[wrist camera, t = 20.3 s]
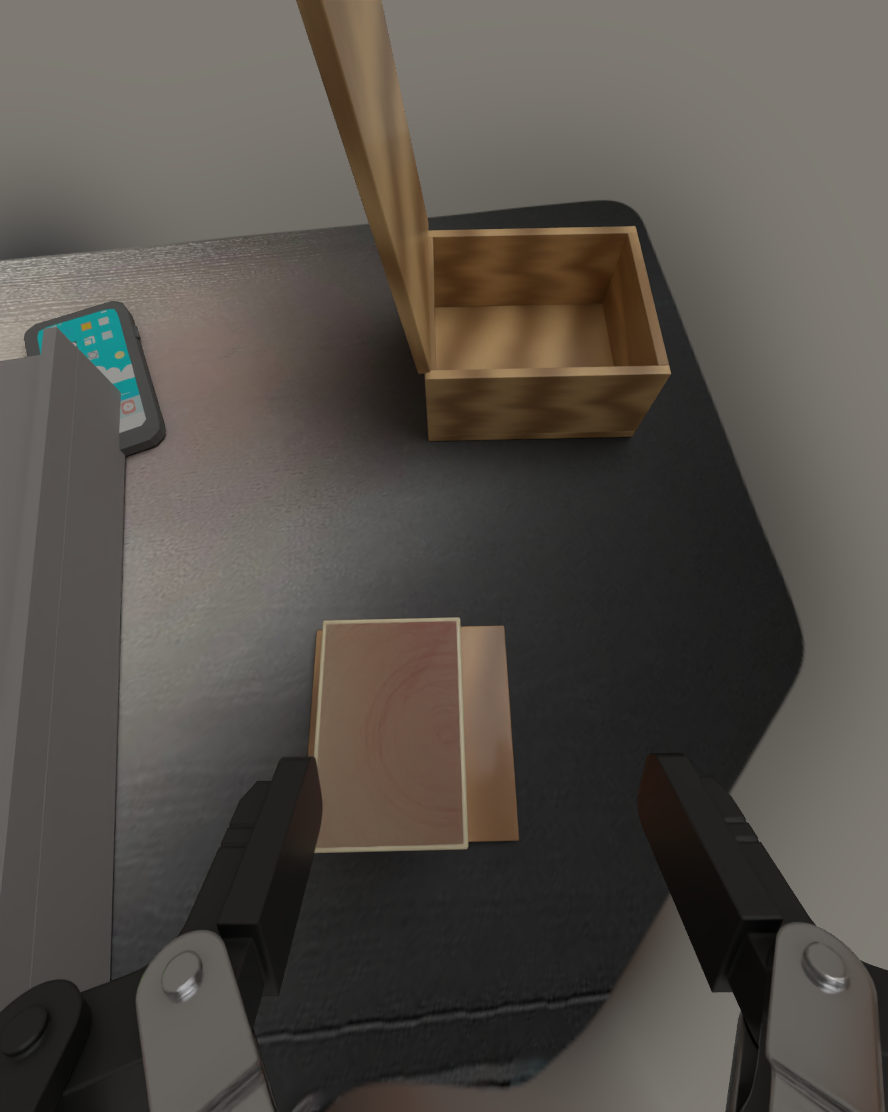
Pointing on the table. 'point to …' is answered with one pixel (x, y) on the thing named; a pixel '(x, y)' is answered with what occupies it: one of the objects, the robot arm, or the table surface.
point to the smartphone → (113, 366)
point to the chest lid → (377, 149)
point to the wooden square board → (476, 733)
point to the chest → (540, 334)
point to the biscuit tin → (391, 736)
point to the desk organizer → (58, 665)
